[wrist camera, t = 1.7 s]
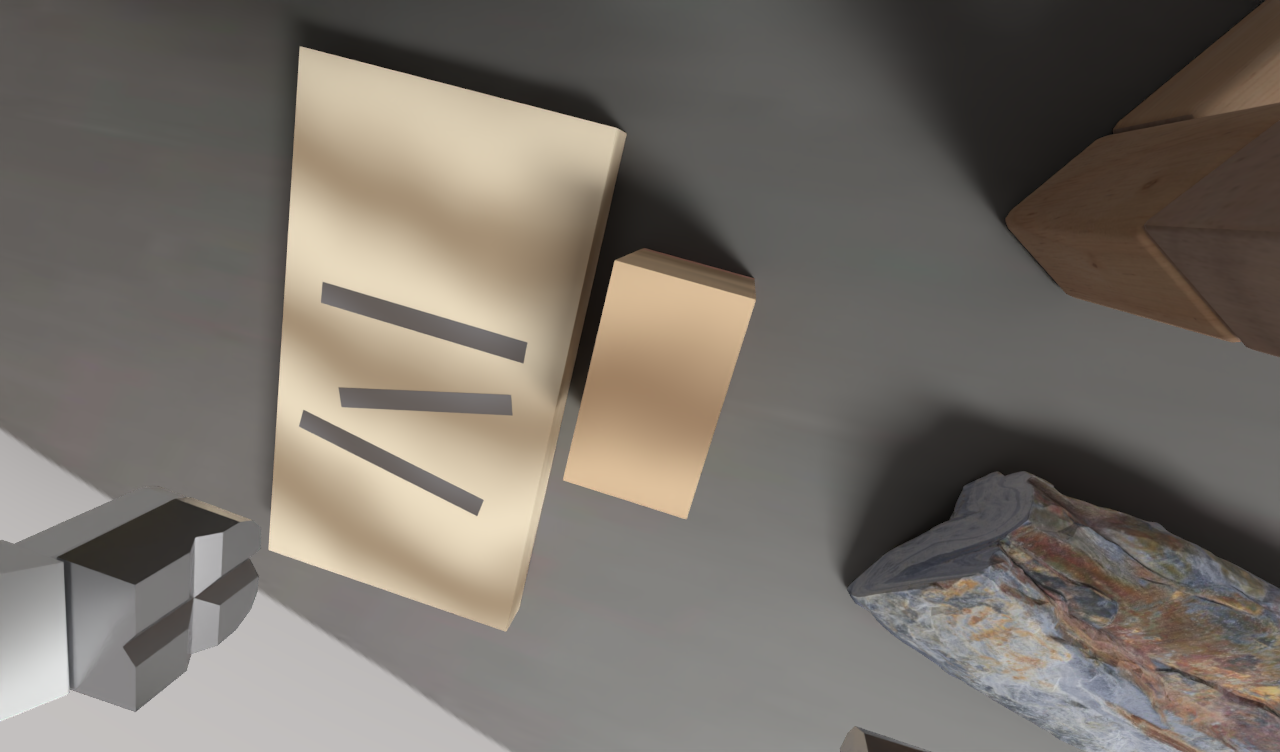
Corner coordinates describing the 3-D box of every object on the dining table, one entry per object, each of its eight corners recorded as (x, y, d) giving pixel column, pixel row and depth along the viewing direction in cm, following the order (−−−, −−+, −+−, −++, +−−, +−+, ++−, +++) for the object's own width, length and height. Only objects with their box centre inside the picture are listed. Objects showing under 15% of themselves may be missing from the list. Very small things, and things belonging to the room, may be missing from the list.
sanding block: (644, 247, 21) (614, 260, 16) (754, 277, 21) (756, 299, 16) (600, 424, 23) (563, 480, 19) (699, 454, 23) (686, 519, 18)
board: (329, 56, 21) (299, 46, 20) (626, 133, 20) (617, 128, 19) (293, 531, 27) (268, 550, 26) (519, 608, 26) (505, 632, 25)
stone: (825, 658, 22) (1022, 498, 16) (832, 559, 26) (994, 399, 20) (1255, 888, 21) (1635, 812, 15) (1198, 751, 25) (1483, 646, 19)
